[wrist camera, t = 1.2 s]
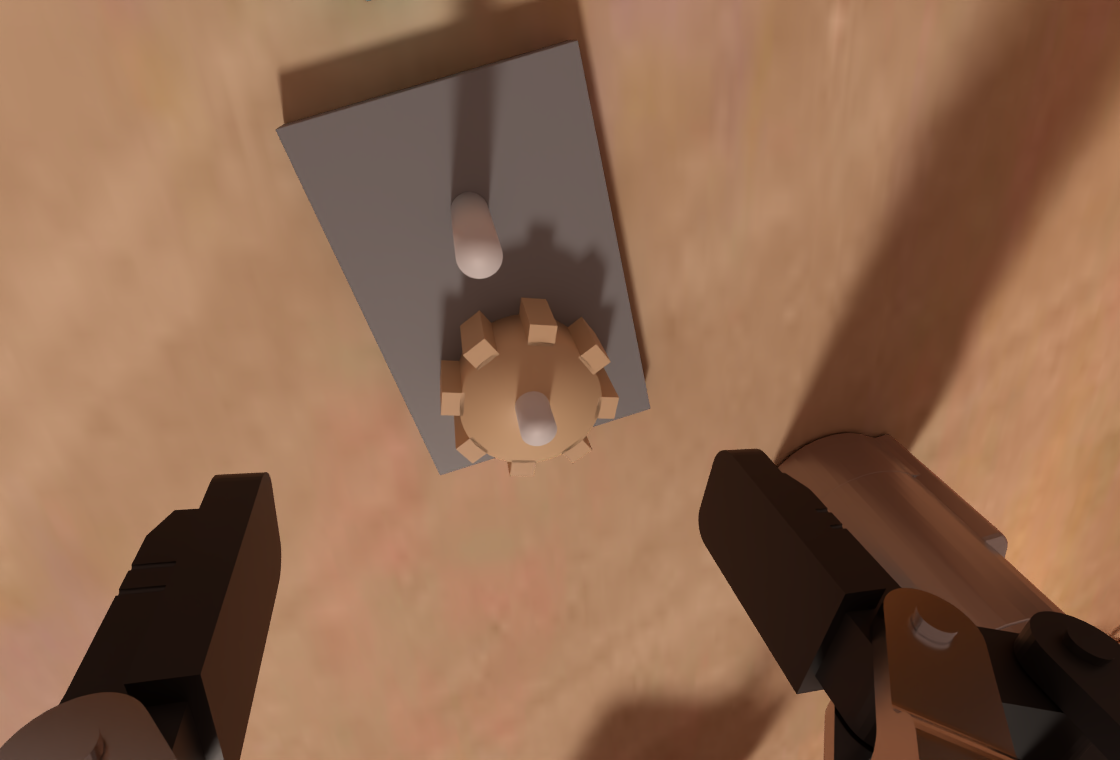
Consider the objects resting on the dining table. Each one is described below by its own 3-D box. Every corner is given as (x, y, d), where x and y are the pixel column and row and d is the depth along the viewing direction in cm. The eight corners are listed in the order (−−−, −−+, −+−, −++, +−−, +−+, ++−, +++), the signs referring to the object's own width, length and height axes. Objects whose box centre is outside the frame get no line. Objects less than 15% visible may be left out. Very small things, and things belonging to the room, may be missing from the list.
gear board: (569, 40, 24) (620, 42, 17) (641, 394, 33) (691, 479, 27) (283, 124, 23) (229, 158, 17) (439, 458, 33) (441, 559, 27)
